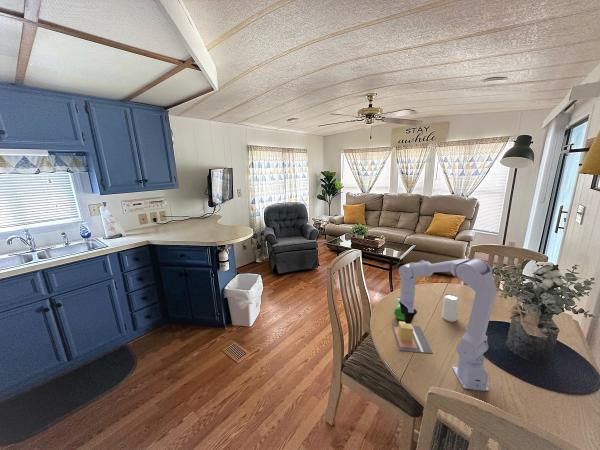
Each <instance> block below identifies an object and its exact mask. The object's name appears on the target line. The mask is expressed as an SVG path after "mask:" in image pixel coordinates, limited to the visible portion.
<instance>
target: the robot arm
mask: <svg viewBox="0 0 600 450" xmlns="http://www.w3.org/2000/svg"><path fill="white" fill-rule="evenodd" d="M442 272H443V273H444V272H445V273H446V272H450V273H451V274H452V275H453V276H454V277H458V279H459V280H460V281H461V282H463V283H464V284H466V285H467V286H468V287H469V288H470V289H471V290H472V291H474V292H475V295H474V300H473V303H472V307H471V311H470V315H469V319H468V324H467V327H466V330H465V331H466V332H465V333H464V334H463V336H462V338H461V341H460V342H459V343H457V344H456V352H457V354H458V359H457V361H458V362H457V366H452V370H453V372H454V373H455V375H456V377H457V379H458V381H459V383H460V385H461V386H462V388H463V389H466V390H474V391H476V390H477V391H485V392H489V391H490V389H489V387H488V386H487V385H488V378H489V373H488V372H487V371H486V367H485V365H484V364H485V361H484V360H485V357H484V353H486V352H487V351H488V350H489V344H488V336H487V335H486V333H487V331H488V325H489V321H490V318H491V315H492V311H493V307H494V304H495V300H496V295H497V293H498V288H497V285H496V282H495V279H494V277H493V268H492V267H491V266H490V265H489V263H487V262H486V261H485V260H484V259H483V258H479V257H478V258H477V257H476V258H472V259H471V258H460V259H454V260H447V261H441V262H435V263H431V262H430V261H427V260H426V261H425V260H424V259H422V260H419V262H413V261H412V262H409V263H406V264H403V265H400V266H399V268H398V274H399V277H400V293H399V294H400V296H399V297H397V299H396V300H397V303H398V302H399V303H400V308H401V313H402V314H404V317H405V320H404V322H405V323H406V324H411V325H412V322H413V319H414V317H415V316H416V315H417V313H418V311H417V309H415V307H414V306H415V303H416V302H415V295H416V291H415V290H416V279H417V278H419V277H431V276H432V275H433V274H434V273H442Z"/></svg>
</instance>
